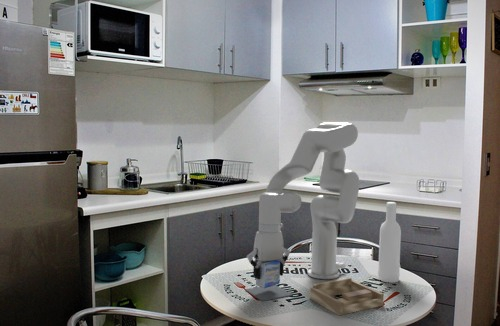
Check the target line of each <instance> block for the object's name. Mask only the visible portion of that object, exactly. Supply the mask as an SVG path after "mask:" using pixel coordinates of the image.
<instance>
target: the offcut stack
mask: <svg viewBox="0 0 500 326" xmlns="http://www.w3.org/2000/svg"><path fill="white" fill-rule="evenodd" d="M336 299H337V300H339V301H341V302H343V306H346V305H350V304H355V303H360V302H364V301H369V300H373V299H372V292H371V291H369V290H367V289H364V290H359V291H354V292H349V293H344V294H341V298H336Z"/></svg>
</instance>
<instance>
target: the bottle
mask: <svg viewBox="0 0 500 326" xmlns="http://www.w3.org/2000/svg"><path fill="white" fill-rule="evenodd" d="M385 210H386V212H385V221H384V222H382V223H381V225H380V228H379V244H378V245H379V246H378V270H377V275H378V276H377V278H378V281H380V280H381V282H384V283H388V282H389V283H398V282H399V281H400V276H401V275H400V266H401V265H400V263H401V243H402V242H401V241H402V228H401V226H400V224H399V222H397V202H395V201H388V202H386V206H385Z"/></svg>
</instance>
